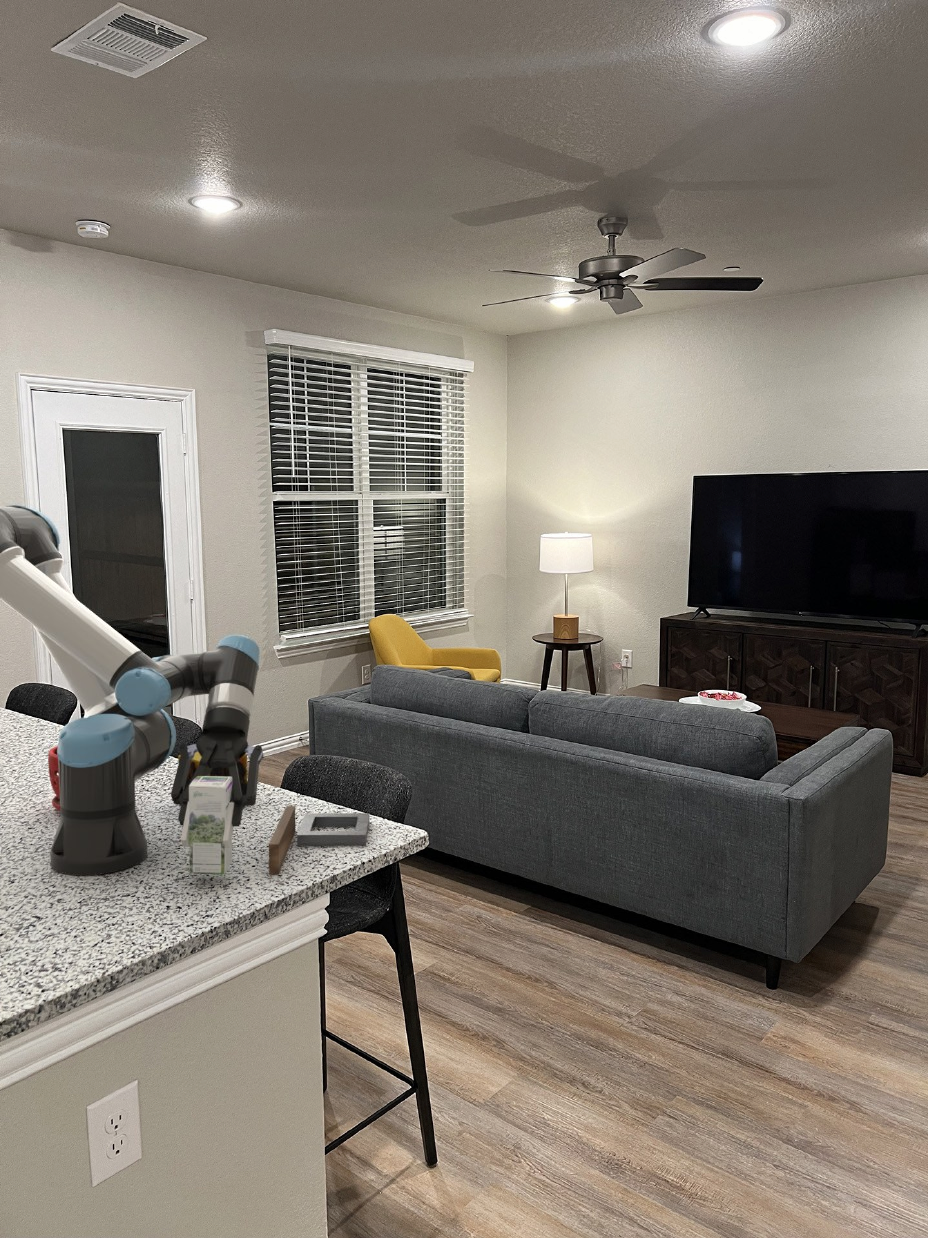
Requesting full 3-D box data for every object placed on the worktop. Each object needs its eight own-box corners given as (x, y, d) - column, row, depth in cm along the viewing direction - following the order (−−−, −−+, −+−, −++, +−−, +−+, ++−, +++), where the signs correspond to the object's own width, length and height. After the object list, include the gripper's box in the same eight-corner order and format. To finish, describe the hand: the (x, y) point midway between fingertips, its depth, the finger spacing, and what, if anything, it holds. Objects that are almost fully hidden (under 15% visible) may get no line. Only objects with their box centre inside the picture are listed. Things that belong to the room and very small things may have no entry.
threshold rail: (268, 874, 152) (268, 844, 151) (286, 832, 171) (286, 806, 171) (278, 874, 152) (278, 844, 151) (295, 832, 171) (295, 806, 171)
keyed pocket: (297, 846, 165) (296, 835, 164) (305, 823, 176) (305, 813, 176) (365, 845, 165) (365, 834, 165) (369, 823, 177) (369, 813, 177)
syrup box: (233, 862, 152) (233, 774, 150) (225, 876, 146) (225, 785, 144) (197, 861, 152) (197, 774, 150) (188, 875, 146) (187, 784, 144)
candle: (208, 814, 181) (207, 764, 180) (176, 804, 187) (175, 755, 186) (249, 802, 189) (249, 754, 188) (217, 793, 196) (217, 746, 194)
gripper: (285, 729, 162) (269, 855, 148) (175, 727, 162) (149, 853, 147) (281, 705, 157) (264, 834, 142) (167, 703, 156) (138, 832, 141)
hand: (205, 844), depth 145 cm, fingers closed on syrup box, 6 cm apart
